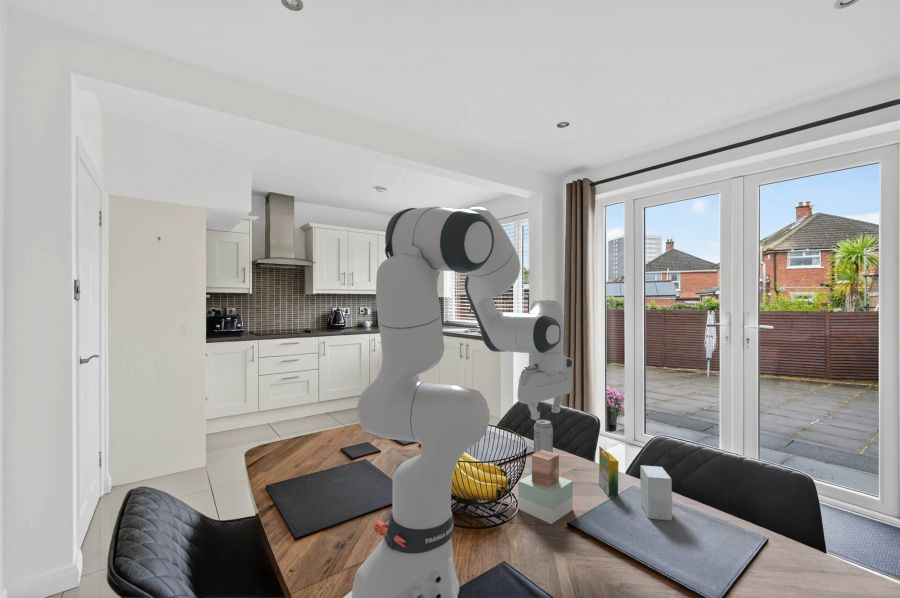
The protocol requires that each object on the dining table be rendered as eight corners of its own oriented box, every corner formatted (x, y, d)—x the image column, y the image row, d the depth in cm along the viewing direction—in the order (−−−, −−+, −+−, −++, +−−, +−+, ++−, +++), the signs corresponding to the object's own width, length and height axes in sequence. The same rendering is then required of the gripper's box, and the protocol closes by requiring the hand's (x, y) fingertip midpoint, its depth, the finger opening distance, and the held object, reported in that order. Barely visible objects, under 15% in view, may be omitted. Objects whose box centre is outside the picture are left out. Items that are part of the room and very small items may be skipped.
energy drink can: (553, 472, 132) (553, 424, 132) (534, 470, 133) (534, 424, 133) (551, 464, 138) (551, 419, 138) (533, 463, 139) (533, 418, 139)
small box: (672, 521, 103) (672, 479, 103) (647, 519, 104) (648, 477, 104) (662, 505, 111) (662, 466, 111) (640, 503, 112) (640, 464, 112)
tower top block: (552, 510, 101) (552, 493, 101) (518, 496, 108) (518, 481, 108) (572, 496, 108) (572, 480, 108) (539, 484, 115) (539, 469, 115)
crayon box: (618, 496, 116) (618, 454, 116) (608, 496, 116) (608, 454, 116) (608, 484, 123) (608, 445, 123) (598, 484, 123) (598, 445, 123)
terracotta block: (548, 487, 104) (548, 460, 104) (531, 481, 108) (531, 454, 108) (558, 481, 108) (558, 454, 108) (542, 475, 112) (542, 449, 111)
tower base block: (551, 525, 102) (551, 509, 102) (518, 510, 109) (518, 495, 109) (572, 511, 108) (572, 496, 108) (540, 497, 116) (540, 483, 116)
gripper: (532, 368, 99) (532, 426, 98) (576, 359, 113) (576, 410, 113) (511, 365, 103) (511, 421, 103) (556, 357, 117) (556, 406, 117)
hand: (545, 415), depth 108 cm, fingers open, 8 cm apart
